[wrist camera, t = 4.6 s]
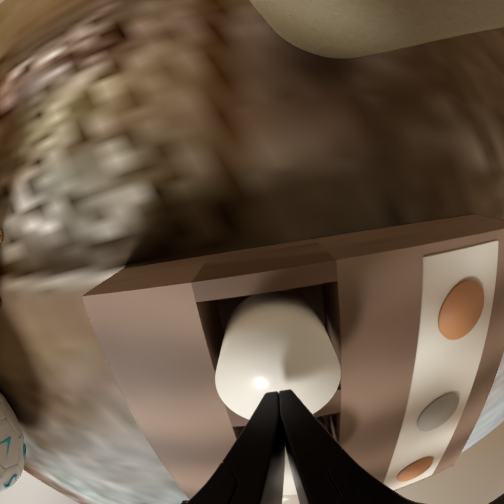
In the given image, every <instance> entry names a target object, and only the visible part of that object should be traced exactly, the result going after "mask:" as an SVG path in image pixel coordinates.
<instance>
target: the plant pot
mask: <svg viewBox="0 0 504 504" xmlns="http://www.w3.org/2000/svg"><path fill="white" fill-rule="evenodd" d="M249 1H250V2H251V3H252V4H253V6H254V7H255V8H256V9H257V11H258V12H259V13H260V14H261V15H262V17H263V18H264V19H265V21H266V22H267V23H268V24H269V25H270V26H271V28H272V29H273V30H274V31H275V32H276V33H277V34H278V35H279V36H281V37H282V38H283V39H284V40H286V41H287V42H289V43H291V44H292V45H294V46H296V47H298V48H300V49H302V50H304V51H306V52H309V53H312V54H315V55H319V56H323V57H328V58H338V59H350V58H357V57H363V56H368V55H373V54H378V53H383V52H388V51H392V50H397V49H401V48H406V47H411V46H415V45H419V44H424V43H428V42H433V41H437V40H442V39H446V38H451V37H456V36H461V35H465V34H470V33H475V32H480V31H485V30H491V29H496V28H502V27H504V0H249Z"/></svg>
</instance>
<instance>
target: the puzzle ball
mask: <svg viewBox="0 0 504 504" xmlns="http://www.w3.org/2000/svg"><path fill="white" fill-rule="evenodd" d="M25 454H26V445H25V444H24V436H23V433H22V429H21V427H20V425H19V422H18V420H17V418H16V416H15V413H14V412H13V410H12V408H11V407H10V405H9V404H8V402H7V400H6V399H5V397H4V396H3V395H2V394H1V393H0V491H3V490H5V489H7V488H9V487H11V486H12V485H13V484H14V483H15V482H16V481H17V479H18V478H19V477H20V476H21V473H22V470H23V468H24V463H25Z"/></svg>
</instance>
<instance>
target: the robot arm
mask: <svg viewBox="0 0 504 504" xmlns="http://www.w3.org/2000/svg"><path fill="white" fill-rule="evenodd" d="M285 448H286V453H287V457H288V461H289V465H290V469H291V473H292V476H293V480H294V484H295V488H296V492H297V495H298V499H299V503H300V504H424V503H417V502H414V501H411V500H409V499H406V498H404V497H403V496H401V495H399V494H398V493H396V492H395V491H393V490H392V489H391V488H389V487H388V486H386V485H385V484H383V483H382V482H381V481H379V480H378V479H376V478H375V477H374V476H372V475H371V474H370V473H369V472H367V471H366V470H365V469H364V468H362V467H361V466H360V465H359V464H358V463H357V462H356V461H355V460H354V459H353V458H352V457H351V456H350V455H349V454H348V453H347V452H346V451H345V450H344V449H342V447H341V446H340V445H339V444H338V442H337V441H336V440H335V439H334V438H333V437H332V436H331V435H330V434H329V432H328V431H327V430H326V429H325V428H324V427H323V426H322V425H321V423H320V422H319V421H318V420H317V419H316V418H315V417H314V415H313V414H312V413H311V412H310V411H309V410H308V408H307V407H306V406H305V405H304V404H303V403H302V401H301V400H300V399H299V398H298V397H297V395H296V394H295V393H294V392H293V391H292V390H291V389H288V390H281V391H279V393H278V392H277V391H273V392H267V393H265V394H264V396H263V398H262V399H261V401H260V403H259V404H258V406H257V408H256V409H255V411H254V413H253V414H252V416H251V418H250V419H249V421H248V422H247V424H246V426H245V427H244V429H243V430H242V432H241V433H240V435H239V437H238V438H237V440H236V441H235V443H234V444H233V446H232V447H231V449H230V450H229V452H228V453H227V455H226V456H225V458H224V459H223V461H222V463H220V465H219V466H218V468H217V469H216V471H215V472H214V473H213V475H212V476H211V477H210V479H209V480H208V481H207V482H206V484H205V485H204V486H203V487H202V488H201V489H200V490H199V491H198V492H197V493H196V494H195V495H194V496H193V497H192V498H191V499H190V500H189V501H188V502H187V503H181V504H282V499H283V485H284V470H285ZM489 504H504V494H502V495H501V496H499V497H498V498H497V499H495V500H494V501H492V502H490V503H489Z"/></svg>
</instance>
